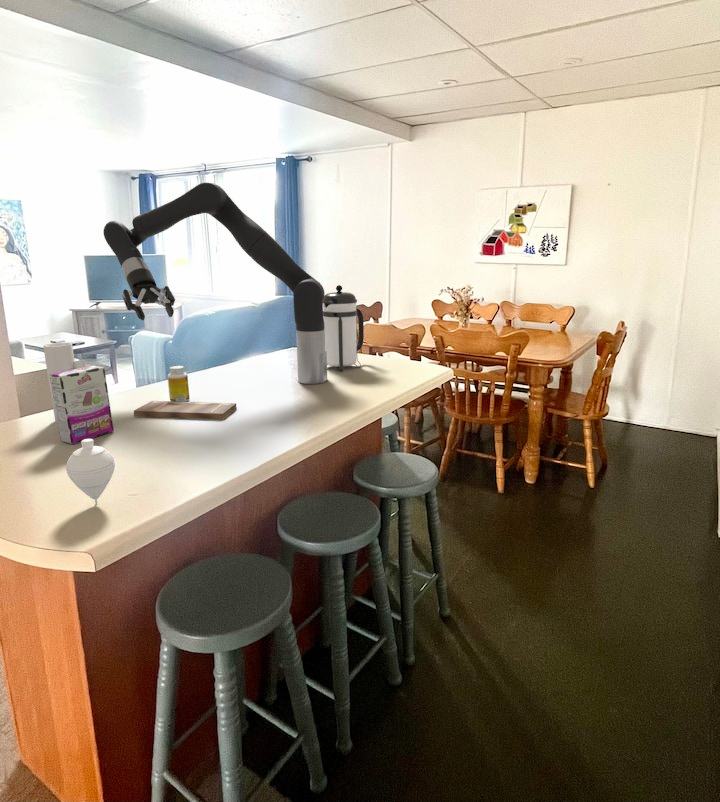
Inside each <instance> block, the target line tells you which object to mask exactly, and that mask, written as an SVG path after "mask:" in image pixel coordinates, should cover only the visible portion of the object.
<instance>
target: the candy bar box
mask: <svg viewBox="0 0 720 802" xmlns="http://www.w3.org/2000/svg"><path fill="white" fill-rule="evenodd" d="M106 377H107V376H106V371H105V367H104V366H98V365H96V364H95V365H89V366H86V367H83V368H78V369H73V370H69V371H64V372H59V373H55V374H50V381H51V386H52V392H53V398H54V403H55V409H56V415H57V420H58V423H57V425H58V430H59V436H60V442H62V443H66V444H70V445H75V444H79V443H81V441H82V440H84V439H94V438H97V437H101V436H103V435H104V436H105V435H106V434H107V435H108V434H110V433H113V432H114V429H115V428H114V423H113V417H112V410H111V403H110V399H109V389H108V384H107V378H106Z"/></svg>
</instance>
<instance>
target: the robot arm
mask: <svg viewBox="0 0 720 802" xmlns="http://www.w3.org/2000/svg"><path fill="white" fill-rule="evenodd" d="M200 214H208V215H210V216H211V217H212V218H213V219H215V220H217V222H219V223H220V224H221V225H222V226H224V227H225V228H226V229H227V230H228V232H229V233H231V235H232V237H233V238H234V240H235V241H236V242H237V244H238V245H239V247H241V249H242V250H243V251H244V252H245V253H246V254H247V255H248V257H250V258H251V259H252V260H253V261H254V262H255V263H256V264H257V265H258V266H260V267H261V268H263V269H264V270H266V271H267V272H268V273H270V274H271V275H273V276H274V277H276V278H278V279H279V280H280V281H281V282H282V283H284V284H285V286H287V287H288V289H290V291H291V292H292V293H293V299H292V300H293V313H294V324H295V327H296V328H295V329H296V330H295V331H296V335H295V336H296V361H297V380H298V382H299V383H300V384H306V385H313V384H314V385H315V384H317V385H318V384H325V382H326V381H327V380H328V365H327V352H326V351H325V333H324V319H323V299H324V296H325V295H326V293H325V289H324V286H323V285H322V283H320V282H319V281H318V280H317V279H315V278H314V276H312V275H310V274H309V273H308V272H306V271H305V270H304V269H302V267H300V266H299V264H297V262H295V261H294V260H293V258H292V257H291V256H290V255H289V254H288V252H286V250H285V249H284V248H283V247H282V246H281V245H280V244H279V243H278V242H277V240H275V239H274V238H273V237H272V236H271V234H269V233H268V232H267V231H266V230H264V228H263V227H261V226H260V225H259V224H258V223H257V222H256V221H254V220H253V219H252V218H251V217H249V216H248V215H246V213H244V211H242V210H241V208H239V207H238V205H237V204H236V203H235V202H234V200H233V199H232V198H231V197H230V196H229V194H228V193H227V192H226V191H225V190H224V189H223V188H222V187H221V186H219V185H218V184H216V183H213V182H212V181H204V182H200V183H199V184H197V185H195V186H194V187H192V188H191V189H190V190H188V191H186V192H185V193H183V194H182V195H181V196H178V197H177V198H175V199H173V200H171V201H169V202H167V203H165V204H163V205H160V206H158V207H155V208H153V209H151V210H148V211H145V212H143V213H141V214H138V215H137V216H134V217H133V219H132V222H131V224H132V227H133V228H131V229H129V228H128V227H126V226H125V224H123V223H122V222H120V221H117V220H111V221H108V222H107V223H106V224H105V226H104V228H103V237H104V239H105V241H106V244H107V245H108V246H109V247H110V249H111V251H112V253H113V254H114V255H115V256H116V257H117V261H118V262H119V264H120V267H121V269H122V273H123V276H124V278H125V281H126V282H127V284H128V286H129V289H130V291H129V290H128V289H123V292H122V299H123V302H124V304H125V307H126V311H134V312H135V314H136V317H137V318H138V320H141V321H145V318H146V314H145V313H144V311H143V308H142V304H144V305H146V304H155V303H156V304H157V305H159V306H162V307H164V309H165V311H166V313H167V315H168V318H173V316H174V313H175V311H174V308H173V307H174V305H175V303H176V298H175V296H174V295H173V292H172V291H171V290H170V288H169V286H168V285H165V286H164V287H163V288H162V287H161V288H159V287H158V286H157V282H156V281H155V277H154V276H153V274H152V272H151V270H150V268H149V266H148V264H147V263H146V261H145V260H144V258H143V256H142V253H141V250H139V248H138V247H139V246H140V245H141V244H143V243H144V242H145V241H146V240H147V239H149V238H150V237H153V236H156V235H158V234H160V233H163V232H165V231H167V230H168V229H170V228H172V227H173V226H174V225H176V224H178V223H179V222H180V221H183V220H185V219H187V218H190V217H192V216H196V215H200ZM131 297H133V298H134V299H136V302H134V303H133V301H132V298H131Z"/></svg>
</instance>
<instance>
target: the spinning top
mask: <svg viewBox="0 0 720 802" xmlns="http://www.w3.org/2000/svg"><path fill="white" fill-rule="evenodd" d="M80 443H81V446H82V447H80V448H78V449H76V450H74V451H73V452H72V453H71V455H70V457H69V458H68V460H67V462H66V466H65V469H66V470H65V471H66V474H67V477H68V478H69V479H70V480H71V481H72V483H73V484H74V486H75V487H77V488H78V489H79V490H80V491H81V492H82V493H84V494H85V495H86V496H87V497H89V498H90V499H92V500H94V504H95V505H98V499H99V498H100V496H102V494H103V493H104V491H105V490H106V488H107V486H108V484H109V483H110V481H111V479H112V476H113V474H114V472H115V467H116V462H115V459H114V456H113V454H111V452H110V451H108V450H107V449H106V448H105V447H103V446H100V445H99V446H98V445H94V438H92V439H84V440H82V441H81V442H80Z"/></svg>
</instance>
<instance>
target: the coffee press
mask: <svg viewBox="0 0 720 802" xmlns="http://www.w3.org/2000/svg"><path fill="white" fill-rule="evenodd" d="M335 289H336V292H335V291H333V292H328V293H325V295H324V299H323V319H324V333H325V351H326V352H327V366H331V367H338V368H339V370H340V371H339V370H338V371H339V372H344V367H349V366H353V365H354V366H356V367H357V366H358V365H357V364H356V363H357V362H358V364H359V366H360V367H361V366H362V365H361V364H362V363H360V361H359V360H358V359H359V358H358V351H359V350H361V349H362V346H363V344H364V339H365V338H364V336H365V335H364V330H365V327H364V326H365V325H364V315H363V313H362V310H360V309H359V308H357V303H358V299H357V298H356V296H355V294H353V293H351V292H347V291H345V292H344V291H343V292H342V290H343V287H342V285H340V284H338V285H337V286H336V288H335ZM357 330H358V335H357Z"/></svg>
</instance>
